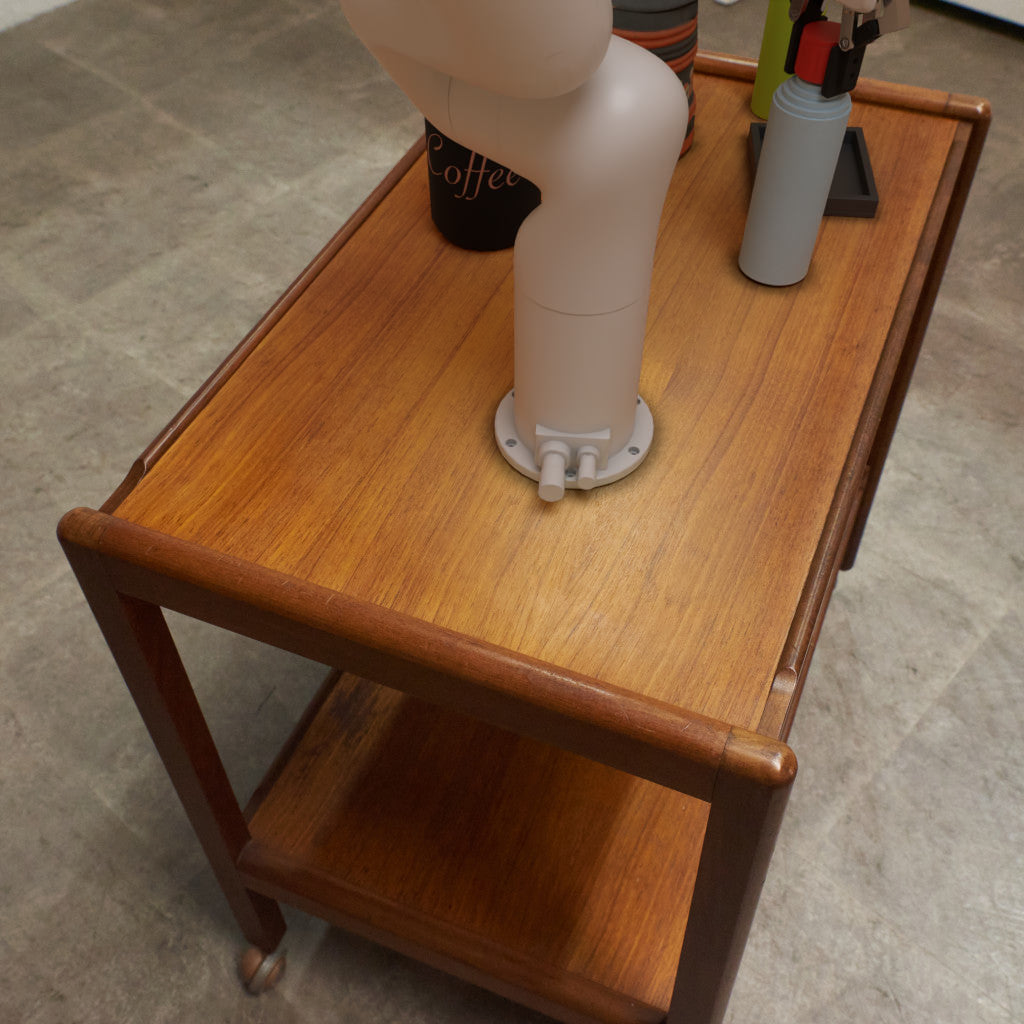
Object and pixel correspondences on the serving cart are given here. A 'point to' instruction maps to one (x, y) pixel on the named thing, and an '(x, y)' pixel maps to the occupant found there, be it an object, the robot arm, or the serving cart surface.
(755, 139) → the tray
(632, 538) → the serving cart surface
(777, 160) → the bottle
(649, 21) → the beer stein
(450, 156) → the coffee jar
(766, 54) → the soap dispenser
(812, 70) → the cap
